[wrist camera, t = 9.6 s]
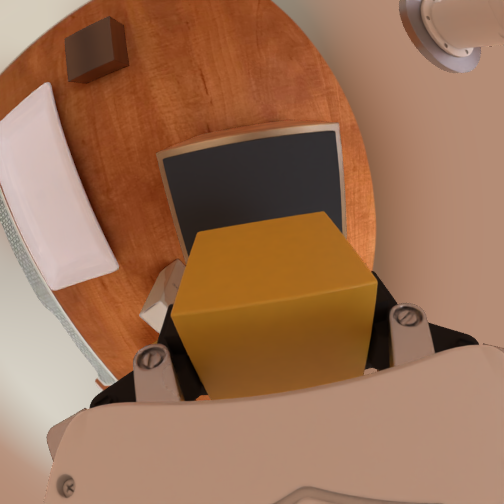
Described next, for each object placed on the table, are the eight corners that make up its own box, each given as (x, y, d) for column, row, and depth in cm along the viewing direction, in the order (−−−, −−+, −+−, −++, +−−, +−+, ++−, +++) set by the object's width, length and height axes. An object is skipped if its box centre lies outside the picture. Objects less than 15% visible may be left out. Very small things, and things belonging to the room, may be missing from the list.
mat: (333, 130, 16) (335, 130, 16) (341, 275, 21) (343, 278, 21) (164, 158, 17) (161, 159, 16) (203, 297, 22) (202, 301, 21)
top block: (324, 210, 12) (379, 280, 7) (327, 310, 14) (359, 395, 9) (197, 231, 12) (168, 315, 7) (224, 327, 14) (219, 417, 9)
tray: (61, 79, 27) (47, 78, 24) (127, 260, 41) (120, 271, 38) (-1, 131, 29) (-14, 134, 26) (60, 282, 43) (51, 292, 40)
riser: (290, 119, 33) (339, 122, 16) (301, 205, 38) (346, 279, 21) (198, 134, 33) (155, 153, 16) (216, 219, 39) (198, 303, 22)
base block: (123, 25, 25) (109, 15, 20) (129, 65, 28) (114, 59, 23) (82, 44, 25) (64, 38, 21) (86, 83, 28) (68, 81, 24)
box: (199, 280, 43) (189, 328, 33) (180, 293, 44) (166, 341, 34) (176, 256, 41) (159, 301, 31) (157, 271, 42) (137, 316, 32)
